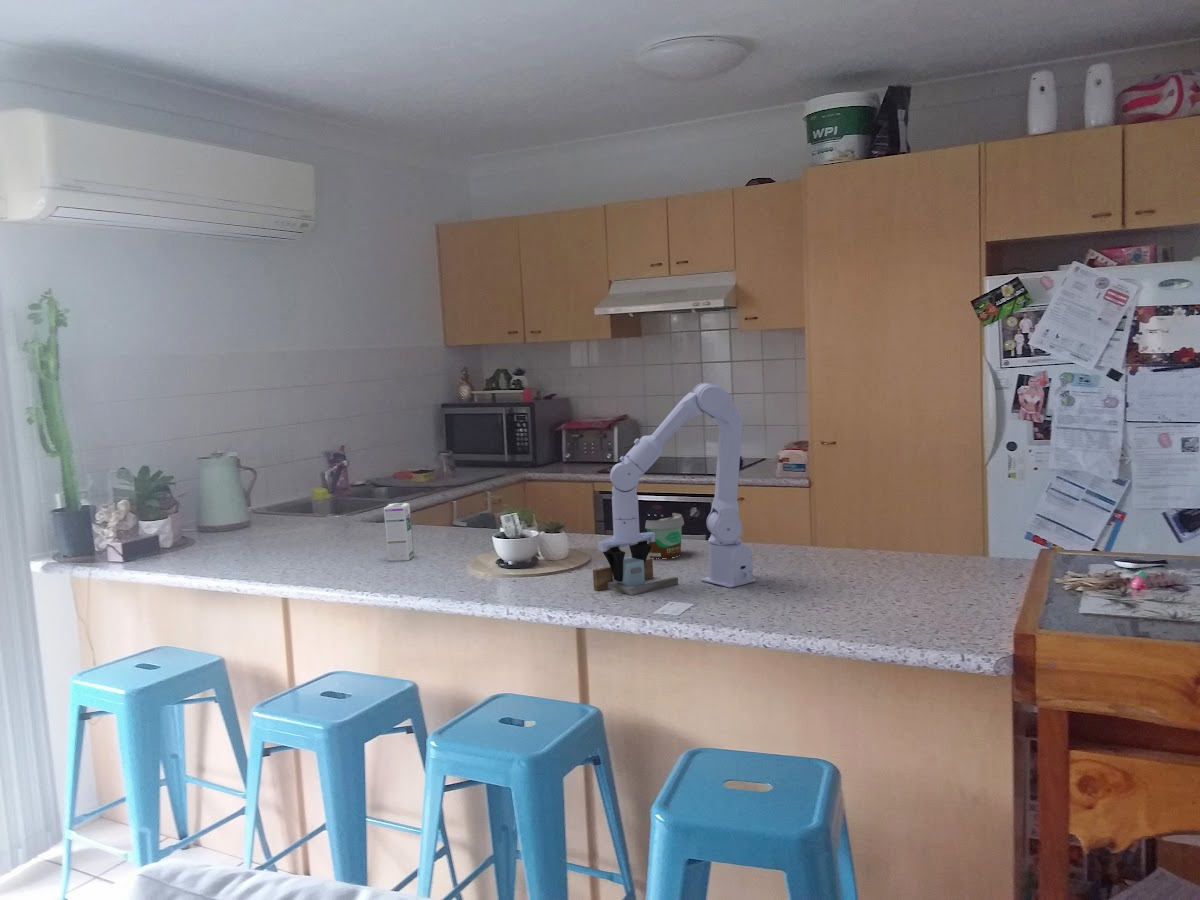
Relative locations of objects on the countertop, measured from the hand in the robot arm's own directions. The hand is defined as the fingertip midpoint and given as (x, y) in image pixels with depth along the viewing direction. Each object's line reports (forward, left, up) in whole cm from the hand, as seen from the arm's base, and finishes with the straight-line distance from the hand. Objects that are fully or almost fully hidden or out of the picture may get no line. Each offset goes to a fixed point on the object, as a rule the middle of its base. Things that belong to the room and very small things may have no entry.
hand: (628, 578), depth 209 cm
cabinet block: (0, 0, -2) cm, 2 cm away
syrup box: (+68, +23, -2) cm, 72 cm away
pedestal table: (-1, -1, -2) cm, 2 cm away
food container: (+16, -26, -2) cm, 31 cm away
